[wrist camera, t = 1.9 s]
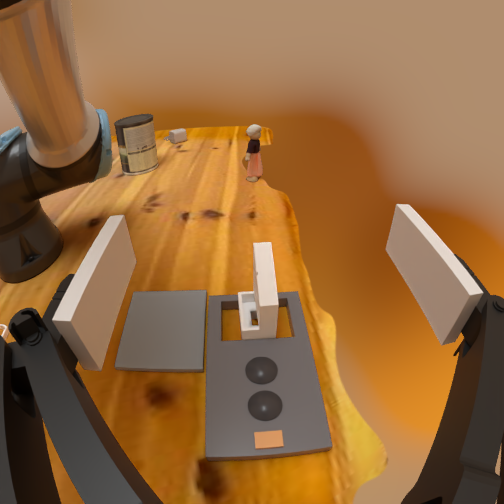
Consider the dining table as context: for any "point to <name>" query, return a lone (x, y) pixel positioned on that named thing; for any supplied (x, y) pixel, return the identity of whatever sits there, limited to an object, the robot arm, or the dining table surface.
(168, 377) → the dining table surface
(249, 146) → the grandmother figurine
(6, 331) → the phone case
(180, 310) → the rubber mat
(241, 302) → the white wedge bracket
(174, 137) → the usb wall charger
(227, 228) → the dining table surface
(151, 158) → the coffee can
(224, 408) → the grey control panel
